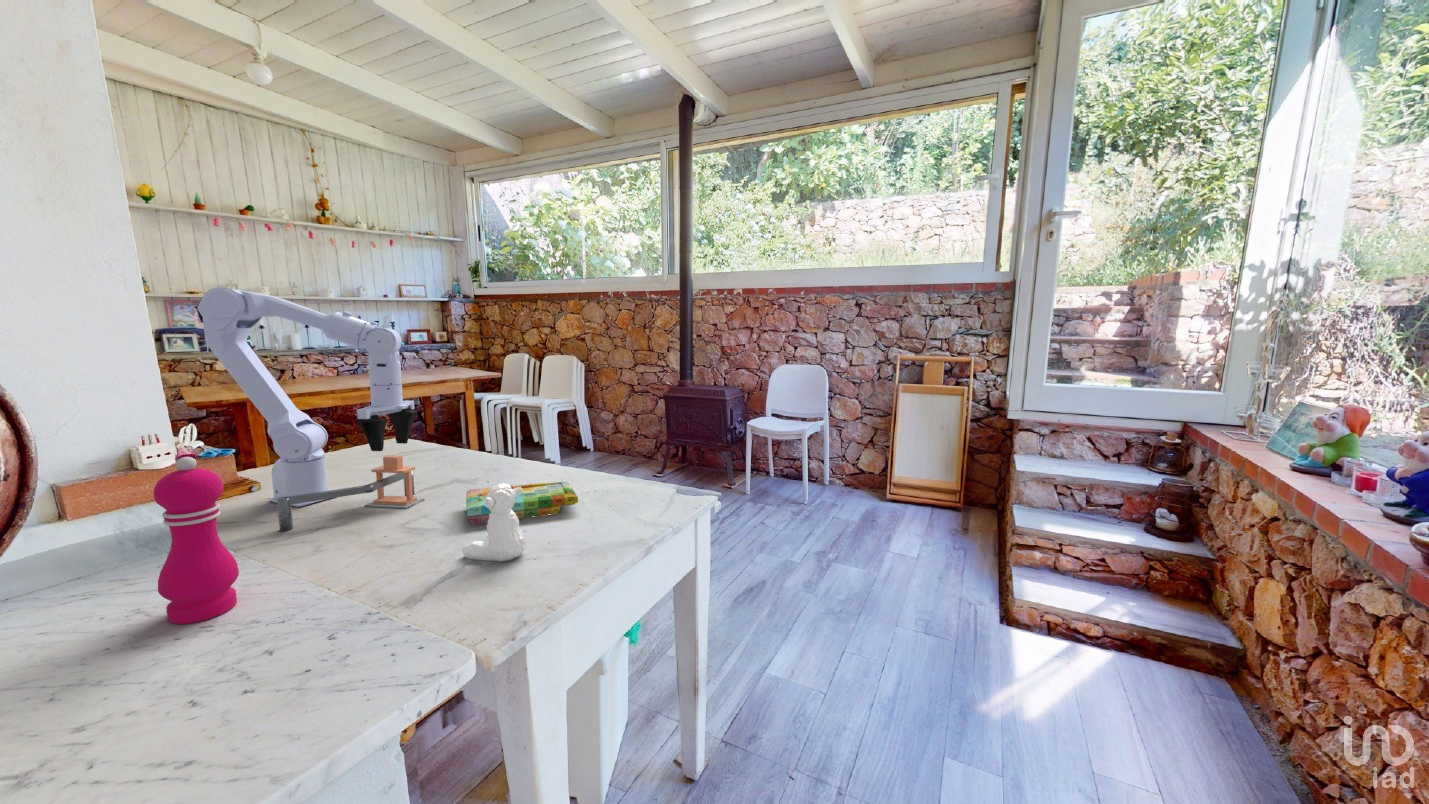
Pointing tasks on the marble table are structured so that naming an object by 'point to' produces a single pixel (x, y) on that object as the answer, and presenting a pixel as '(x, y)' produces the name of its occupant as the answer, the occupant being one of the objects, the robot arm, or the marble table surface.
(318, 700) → the marble table surface
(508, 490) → the sitting furry creature
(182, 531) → the pepper mill
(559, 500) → the puzzle game
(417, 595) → the marble table surface
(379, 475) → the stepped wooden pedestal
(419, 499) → the pad
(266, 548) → the marble table surface
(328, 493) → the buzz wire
